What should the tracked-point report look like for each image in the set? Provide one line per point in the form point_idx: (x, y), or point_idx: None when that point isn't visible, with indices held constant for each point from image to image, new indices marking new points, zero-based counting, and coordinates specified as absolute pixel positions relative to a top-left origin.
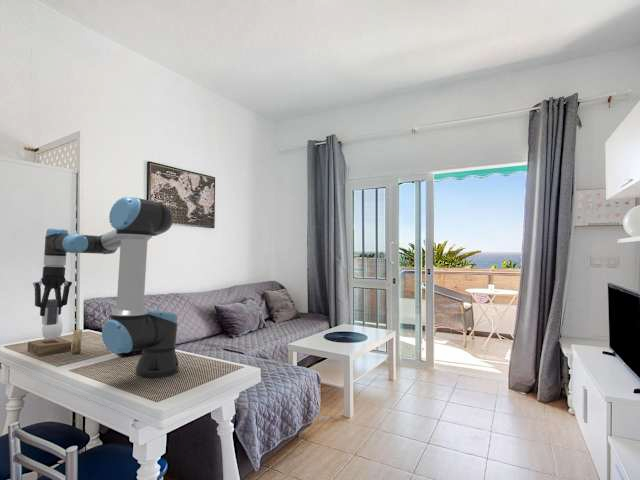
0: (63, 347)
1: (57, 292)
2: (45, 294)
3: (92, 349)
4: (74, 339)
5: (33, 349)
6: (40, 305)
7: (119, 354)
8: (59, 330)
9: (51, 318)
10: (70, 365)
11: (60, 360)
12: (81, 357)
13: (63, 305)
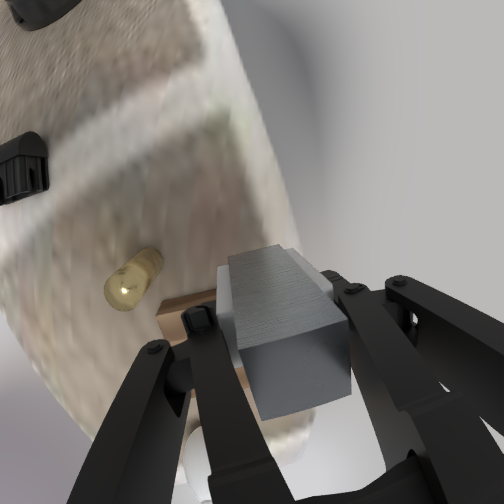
0: (184, 303)
1: (263, 442)
2: (422, 368)
3: (100, 295)
4: (144, 269)
5: None
6: (388, 285)
7: (45, 152)
8: (191, 444)
9: (262, 261)
10: (190, 105)
11: (206, 187)
12: (140, 196)
13: (173, 346)
